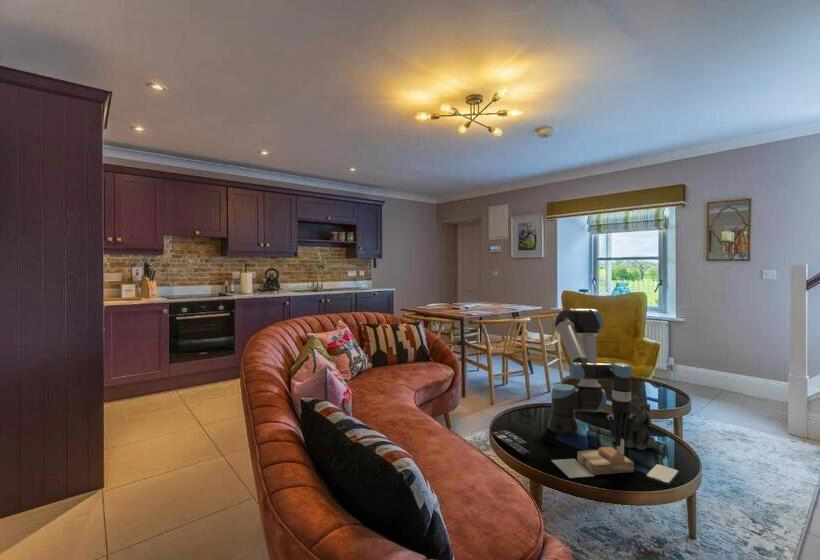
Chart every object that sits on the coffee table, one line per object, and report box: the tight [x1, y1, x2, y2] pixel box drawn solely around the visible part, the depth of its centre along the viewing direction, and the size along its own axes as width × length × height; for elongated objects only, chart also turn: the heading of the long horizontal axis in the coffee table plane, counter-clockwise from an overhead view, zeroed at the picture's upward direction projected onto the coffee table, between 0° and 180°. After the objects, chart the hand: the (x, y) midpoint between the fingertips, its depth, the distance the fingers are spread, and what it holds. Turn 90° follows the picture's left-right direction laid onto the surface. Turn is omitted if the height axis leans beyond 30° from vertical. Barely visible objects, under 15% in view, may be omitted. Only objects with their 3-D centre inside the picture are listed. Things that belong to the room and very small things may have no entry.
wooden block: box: [576, 449, 635, 476], centre depth 173 cm, size 13×18×4 cm
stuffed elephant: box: [612, 395, 656, 451], centre depth 195 cm, size 19×21×27 cm
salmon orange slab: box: [597, 446, 625, 462], centre depth 174 cm, size 9×6×2 cm, turn 8°
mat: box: [551, 458, 595, 479], centre depth 171 cm, size 15×11×1 cm
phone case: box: [645, 463, 680, 487], centre depth 165 cm, size 9×2×16 cm
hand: (620, 452), depth 174 cm, fingers closed
